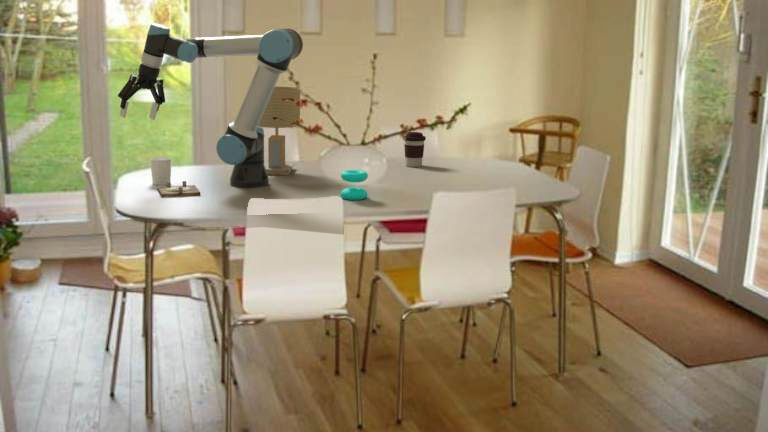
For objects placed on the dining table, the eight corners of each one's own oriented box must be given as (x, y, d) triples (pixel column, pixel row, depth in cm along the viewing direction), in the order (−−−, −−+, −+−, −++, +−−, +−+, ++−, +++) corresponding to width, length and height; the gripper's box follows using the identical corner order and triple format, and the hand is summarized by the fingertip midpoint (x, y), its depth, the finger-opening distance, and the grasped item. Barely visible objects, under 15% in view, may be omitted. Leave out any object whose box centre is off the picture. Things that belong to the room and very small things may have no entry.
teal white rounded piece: (345, 168, 340) (371, 170, 338) (345, 194, 343) (370, 196, 340) (337, 172, 331) (363, 174, 328) (337, 199, 333) (362, 201, 331)
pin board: (194, 188, 347) (194, 179, 347) (200, 195, 335) (200, 186, 334) (157, 189, 343) (157, 181, 342) (161, 197, 330) (161, 188, 329)
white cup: (151, 185, 350) (150, 160, 348) (151, 182, 357) (150, 157, 355) (172, 185, 352) (171, 159, 350) (171, 181, 359) (170, 156, 357)
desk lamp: (297, 176, 376) (297, 91, 368) (250, 175, 376) (249, 90, 368) (302, 168, 395) (302, 87, 387) (257, 167, 395) (257, 86, 387)
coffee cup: (400, 166, 404) (401, 133, 400) (406, 163, 413) (407, 130, 410) (421, 168, 401) (422, 134, 397) (427, 165, 410) (428, 132, 407)
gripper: (171, 65, 353) (158, 116, 359) (116, 58, 334) (103, 112, 340) (182, 71, 349) (169, 122, 355) (128, 64, 330) (114, 119, 336)
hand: (137, 117), depth 347 cm, fingers open, 13 cm apart
